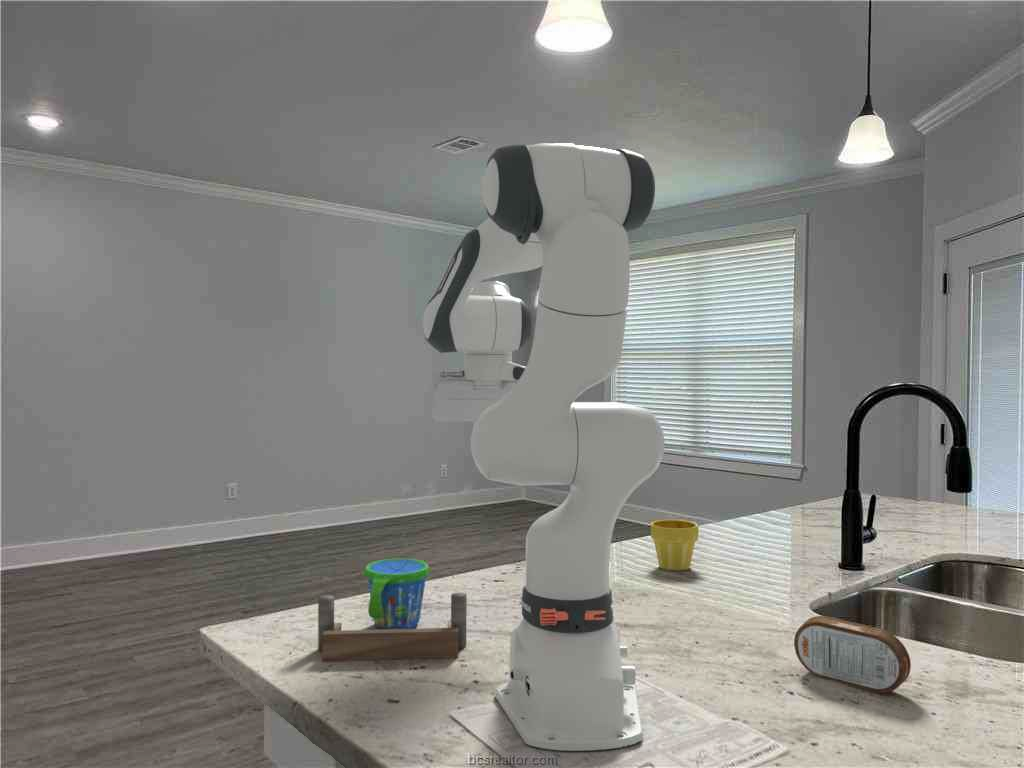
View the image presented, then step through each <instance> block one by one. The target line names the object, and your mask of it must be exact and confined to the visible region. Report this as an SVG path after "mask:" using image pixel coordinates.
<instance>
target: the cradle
mask: <svg viewBox="0 0 1024 768" xmlns="http://www.w3.org/2000/svg"><path fill="white" fill-rule="evenodd" d="M450 596H451V598H450V599H451V600H450V602H451V603H450V606H451V607H450V619H449V620H447V627H438V628H437V627H432V628H431V627H430V628H411V629H385V630H382V629H351V630H342V622H335V596H334V595H327V594H324V595H321V596H320V595H319V596H318V598H317V599H318V600H317V603H318V605H317V608H318V610H317V611H318V613H317V615H318V616H317V623H318V626H317V650H318V651H319V652H320V651H321V652H322V662H339V661H340V662H342V661H344V662H346V661H348V662H349V661H350V662H351V661H376V660H377V661H378V660H379V661H381V660H415V659H417V660H418V659H419V660H420V659H421V660H422V659H450V658H451V659H454V658H455V659H456V658H457V659H458V658H459V649H463V648H466V647H467V613H468V612H467V611H468V610H467V606H468V605H467V599H468V598H467V593H464V592H454V593H452V594H451V595H450Z"/></svg>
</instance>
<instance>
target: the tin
mask: <svg viewBox="0 0 1024 768" xmlns="http://www.w3.org/2000/svg"><path fill="white" fill-rule="evenodd" d="M793 642H794V643H793V645H794V650H795V651H794V652H795V654H796V657H797V659H798V661H799V662H800V663H801V665H802V666H803V667H804V668H805V669H806V670H807V671H808V672H809V673H810V674H813V675H814V676H816V677H818V678H821V679H824V680H828V681H832V682H836V683H840V684H843V685H846V686H850V687H853V688H858V689H860V690H865V691H868V692H873V693H878V694H886V693H890V692H893V691H895V690H897V689H898V688H899V687H900V686H901V685H902V684H903V683H904V682H906V681H907V679H908V678H909V677H910V672H911V669H912V668H911V667H912V665H911V664H912V663H911V658H910V654H909V652H908V650H907V648H906V647H905V645H904V644H903V642H902V641H901V640H900V639H899V638H898V637H897V636H895V635H894V634H893V633H891V632H889V631H888V630H885V629H882V628H879V627H874V626H870V625H865V624H861V623H857V622H852V621H848V620H843V619H839V618H836V617H831V616H826V615H817V616H813V617H810V618H808V619H807V620H806V621H805V622H803V624H802V625H801V626H800V627H798V630H797V631H796V632H795V635H794V640H793Z"/></svg>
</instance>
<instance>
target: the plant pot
mask: <svg viewBox="0 0 1024 768" xmlns="http://www.w3.org/2000/svg"><path fill="white" fill-rule="evenodd" d="M650 537H651V539H652V540H653V542H654V543H653V544H654V546H655V552H656V557H657V561H658V567H659V568H660V569H662V570H665V569H666V571H671V570H673V572H679V571H680V572H681V571H687V570H689V569H690V567H691V564H692V560H693V559H692V558H693V554H694V549H695V545H696V542H697V541H698V540H699V525H698V524H697V523H696V522H694V521H690V520H685V519H683V520H682V519H659V520H654V521H652V522H651V523H650Z"/></svg>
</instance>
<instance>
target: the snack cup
mask: <svg viewBox="0 0 1024 768" xmlns="http://www.w3.org/2000/svg"><path fill="white" fill-rule="evenodd" d="M429 573H430V566H429V565H428V563H427V562H425V561H423V560H420V559H413V558H402V557H401V558H399V557H398V558H387V559H380V560H376V561H373V562H370V563H368V564H367V565H366V566H365V568H364V576H365V577H366V580H367V583H368V589H369V603H368V608H367V609H368V610H367V612H368V615H369V617H370V618H371V619H372V620H373V621H374V627H377V628H379V630H385V629H414V628H416V626H417V625H418V624H419V622H420V619H421V612H422V607H423V600H424V594H425V593H424V592H425V587H426V579H427V576H428V575H429Z"/></svg>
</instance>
